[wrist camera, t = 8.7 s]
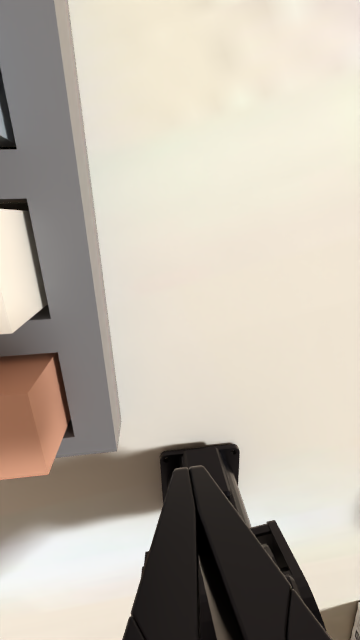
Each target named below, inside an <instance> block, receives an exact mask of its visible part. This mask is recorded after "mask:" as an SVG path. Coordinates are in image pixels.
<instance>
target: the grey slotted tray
mask: <svg viewBox="0 0 360 640" xmlns="http://www.w3.org/2000/svg"><path fill="white" fill-rule="evenodd" d="M0 68H1V73H2V78H3V83H4V88H5V93H6V98H7V103H8V108H9V113H10V118H11V123H12V128H13V133H14V138H15V143H16V148H17V149H5V150H0V204H5V203H28V207H29V212H30V217H31V222H32V227H33V232H34V237H35V242H36V247H37V252H38V257H39V262H40V267H41V272H42V277H43V282H44V287H45V292H46V297H47V302H48V305H46V306H45V307H44V308H42V309H41V310H40V311H39V312H38V313H36V314H35V315H34V316H33V317H31V318H30V319H29V320H28V321H27V322H25V323H24V324H23V325H22V326H21V327H19V328H18V329H17V330H16V331H15V332H13V333H12V334H0V357H2V356H15V355H29V354H42V353H56V352H58V356H59V361H60V366H61V371H62V376H63V381H64V386H65V391H66V396H67V401H68V406H69V411H70V416H71V418H70V421H69V424H68V426H67V429H66V431H65V434H64V436H63V439H62V441H61V444H60V446H59V449H58V451H57V454H56V457H55V458H58V457H67V456H77V455H86V454H96V453H105V452H114V451H117V448H118V441H119V433H120V426H121V415H120V408H119V400H118V392H117V384H116V376H115V368H114V360H113V353H112V345H111V337H110V329H109V321H108V313H107V306H106V298H105V290H104V282H103V274H102V266H101V259H100V251H99V243H98V235H97V227H96V219H95V211H94V204H93V196H92V188H91V180H90V172H89V164H88V157H87V149H86V141H85V133H84V125H83V117H82V109H81V102H80V94H79V86H78V78H77V70H76V62H75V55H74V47H73V39H72V31H71V23H70V15H69V8H68V0H0Z"/></svg>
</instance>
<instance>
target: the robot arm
mask: <svg viewBox="0 0 360 640" xmlns="http://www.w3.org/2000/svg"><path fill="white" fill-rule="evenodd" d="M233 450H234V451H233ZM239 454H240V452H239V448H238V446H237V445H235V444H230V445H221V446H212V447H202V448H193V449H184V450H175V451H166V452H163V453H162V454H161V455H160V464H161V478H162V491H163V507H162V511H161V514H160V517H159V520H158V524H157V527H156V530H155V534H154V537H153V540H152V544H151V547H150V550H149V551H148V552H146V553H145V561H144V566H143V567H142V574H141V580H140V584H139V587H138V590H137V593H136V597H135V600H134V603H133V607H132V610H131V616H130V617H129V619H128V623H127V626H126V629H125V633H124V636H123V639H122V640H332V639H331V637H330V636H329V635H328V633H327V632H326V629H325V626H324V623H323V620H322V617H321V614H320V612H319V609H318V606H317V604H316V601H315V599H314V596H313V594H312V592H311V590H310V587H309V585H308V583H307V581H306V579H305V577H304V575H303V573H302V571H301V569H300V567H299V565H298V563H297V561H296V560H295V558H294V556H293V554H292V552H291V550H290V548H289V546H288V544H287V542H286V540H285V539H284V537H283V535H282V533H281V531H280V529H279V527H278V525H277V523H276V521H275V520H273V521H269V522H267V524H263V525H259V526H255V527H251V524H250V521H249V518H248V515H247V512H246V509H245V506H244V503H243V500H242V497H241V494H240V491H239V488H238V474H239ZM165 458H167V459H165Z"/></svg>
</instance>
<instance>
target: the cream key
mask: <svg viewBox="0 0 360 640" xmlns="http://www.w3.org/2000/svg"><path fill="white" fill-rule="evenodd" d="M47 304H48V302H47V297H46V292H45V287H44V282H43V277H42V272H41V267H40V262H39V257H38V252H37V247H36V242H35V237H34V232H33V227H32V222H31V217H30V212H29V211H22V210H9V209H0V334H12V333H13V332H15V331H16V330H17V329H18V328H19V327H21V326H22V325H23V324H24V323H25V322H27V321H28V320H29V319H30V318H31V317H33V316H34V315H35V314H36V313H38V312H39V311H40V310H41V309H42V308H44V307H45V306H46V305H47Z"/></svg>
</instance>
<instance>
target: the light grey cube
mask: <svg viewBox="0 0 360 640" xmlns="http://www.w3.org/2000/svg"><path fill="white" fill-rule="evenodd" d="M0 147H16V143H15V138H14V133H13V128H12V123H11V118H10V113H9V108H8V103H7V98H6V93H5V88H4V83H3V78H2V73H1V68H0Z"/></svg>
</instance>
